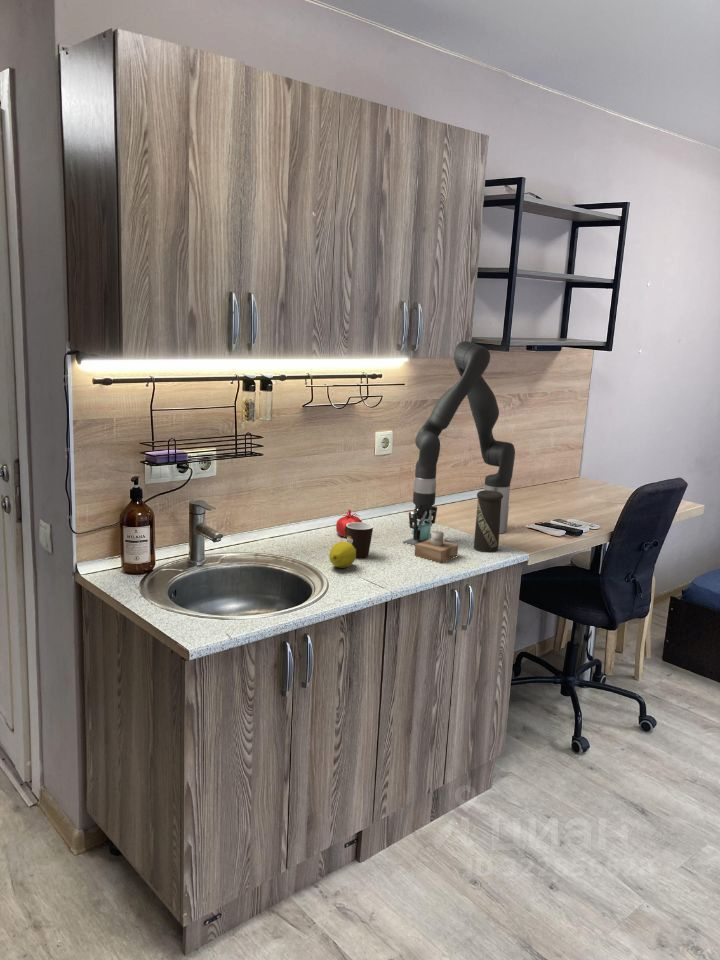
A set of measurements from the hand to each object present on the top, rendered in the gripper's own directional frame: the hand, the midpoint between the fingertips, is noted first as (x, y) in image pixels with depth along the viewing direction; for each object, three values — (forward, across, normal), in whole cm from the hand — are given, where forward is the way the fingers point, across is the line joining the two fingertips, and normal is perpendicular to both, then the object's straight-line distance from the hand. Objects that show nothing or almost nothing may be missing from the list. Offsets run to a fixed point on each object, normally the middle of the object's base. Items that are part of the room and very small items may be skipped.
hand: (421, 538), depth 269 cm
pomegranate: (+2, -11, +23) cm, 26 cm away
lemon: (+2, -40, +2) cm, 40 cm away
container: (+2, +11, -19) cm, 22 cm away
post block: (+2, -9, -12) cm, 15 cm away
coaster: (+2, 0, 0) cm, 2 cm away
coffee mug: (+2, -26, +7) cm, 27 cm away
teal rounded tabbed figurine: (0, 0, 0) cm, 0 cm away
